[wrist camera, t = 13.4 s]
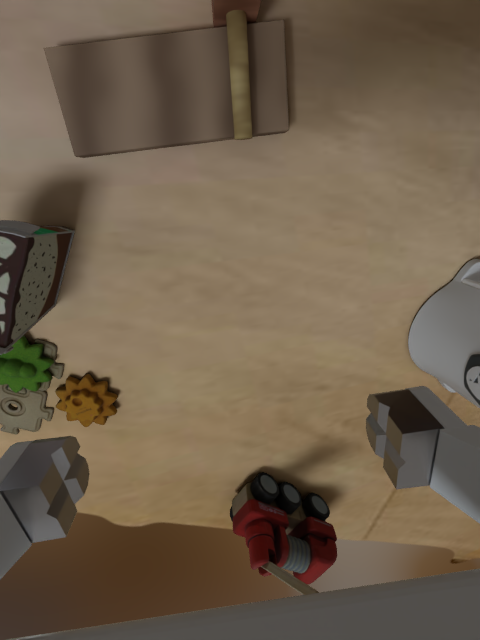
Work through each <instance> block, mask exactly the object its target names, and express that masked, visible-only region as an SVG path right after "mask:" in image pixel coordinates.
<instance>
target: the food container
mask: <svg viewBox="0 0 480 640" xmlns="http://www.w3.org/2000/svg"><path fill="white" fill-rule="evenodd" d="M74 232H75V230H73V229H70V228H67V227H63V226H36V225H33V224H30V223H25V222H20V221H9V220H1V221H0V355H2V354H3V353H4V354H6V353H8V352H9V351H11V350H13V349H14V347H11V346H12V345H13V344H15V343H16V342H17V341H18V340H19V339H20V338H21V337H22V336H23V335H24V334H25V333H26V332H28V331H29V330H30V329H31V328H32V327H33V326H34V325H35V324H36V323H37V322H38V321H39V320H41V319H42V318H43V317H44V316H45V315H46V314H47V313H48V312H49V311H50V310H51V309H52V308H54V307H55V306H56V302H57V298H58V294H59V290H60V286H61V283H62V279H63V275H64V271H65V267H66V263H67V259H68V255H69V252H70V248H71V244H72V240H73V236H74Z"/></svg>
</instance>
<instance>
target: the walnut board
mask: <svg viewBox="0 0 480 640" xmlns="http://www.w3.org/2000/svg"><path fill="white" fill-rule="evenodd" d="M247 41H248V61H249V81H250V101H251V121H252V137H255V136H263V135H271V134H279V133H285V132H287V131H288V130H289V121H288V100H287V78H286V56H285V34H284V20H277V21H268V22H260V23H251V24H247ZM44 51H45V55H46V58H47V61H48V65H49V68H50V72H51V75H52V79H53V82H54V86H55V89H56V93H57V96H58V99H59V103H60V106H61V110H62V113H63V117H64V120H65V124H66V127H67V131H68V134H69V137H70V141H71V144H72V148H73V151H74V155H75V156H76V157H82V158H85V157H93V156H102V155H110V154H118V153H126V152H134V151H142V150H150V149H158V148H166V147H174V146H182V145H190V144H198V143H207V142H215V141H223V140H231V139H235V138H234V123H233V109H232V94H231V80H230V65H229V51H228V37H227V26H226V27H218V28H209V29H201V30H192V31H184V32H175V33H167V34H158V35H150V36H141V37H133V38H124V39H116V40H107V41H99V42H90V43H82V44H74V45H65V46H57V47H48V48H44Z"/></svg>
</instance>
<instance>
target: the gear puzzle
mask: <svg viewBox="0 0 480 640" xmlns="http://www.w3.org/2000/svg"><path fill="white" fill-rule="evenodd" d="M11 347H14V349H13V350H11V351H9V352H8V353H6V354H4V353H3V354H2V355H0V424H2V425H3V427H2V428H1V431H4V432H8V433H12V434H18V433H19V430H18V428H20V429H24V430H28V431H32V432H36V431H38V430H39V429H40V427H41V422H42V418H43V419H45V420H47V421H51V419H52V416H53V412H54V408H52V407H46V406H45V404H46V399H47V392H46V391H45V390H47V389H48V388H49V386H50V382H51V379H52V376H54V377H56V378H57V379H61V377H62V375H63V370H64V364H61V363H59V364H57V363H55V359H56V354H57V347H56V345H55V344H53V343H50V342H47V341H43V340H39V339H36V340H35V344H33V345H30V344H29V343H28V341H27V339H26V338H25V336H24V335H23V336H22V337H21V338H20V339H19V340H18V341H17V342H16V343H15V344H13V345H12V346H11ZM107 389H108V382H107V381H100V382H95V381H94V380H93V378H92V377H91V376H90V375H89V374H86V375H85V376H84V377H83V378H82V379H81V380H78V379H76V378H74V377H70V376H69V377H68V378H67V379H66V387H64V386H63V387H58V388H57V389H56V391H55V392H56V394H57V396H58V397H59V398H60V399H61V400H60V401H59V402H58V403H57V405H56V408H58V409H59V410H62V411H66V412H67V415H66V416H67V420H68V421H75V420H79V421H80V423H81V424H82V425H83V426H84V427H88V426H89V425H90V424H91V423H92V422H95V423H97V424H100V425H104V424H105V423H106V421H107V416H112V415H115V414H116V413H117V409H116V408H115V406H113V405H112V404H113V403H114V402H115V401H116V399H117V398H118V395H116V394H114V393H111V392H108V391H107ZM10 403H14V404H16V405H17V406H18V408H13V407H12V406H11V404H10Z"/></svg>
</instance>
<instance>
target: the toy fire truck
mask: <svg viewBox="0 0 480 640" xmlns="http://www.w3.org/2000/svg"><path fill="white" fill-rule="evenodd" d="M329 514H330V511H329V508H328V506H327V504H326V502H325V501H324V500H323V499H322V498H321V497H320V496H319V495H317V494H314V493H311V494H310V495H309V496H308V497H307V498H306V499H305V500H304V501H303V502H302V499H301V495H300V493H299V492H298V490H297V489H296V488H295V487H294V486H293V485H292V484H290V483H288V482H283V483H281V485H280V486H279V487H278V485H277V483H276V481H275V480H274V479H273V477H271V476H270V475H269V474H267V473H260V474H258V476H257V477H256V478H255V479H254V480H253V482H252V483H247V484H246V485H245V486H244V487H243V489H242V490H241V491H240V492H239V493H238V494H237V496H236V497H235V498H234V499H233V501H232V507H231V509H230V517H231V520H232V521H233V532H234V533H235V534H237V535H239V536H242V537H246V545H247V547H248V548H249V554H250V564H251V568H252V569H253V570H255V569H257V568H258V569H259V573H260V574H261V575H262V576H268V575H271V574H273V575H274V576H276V577H277V578H279V579H280V580H282V581H283V582H285V583H286V584H288V585H289V586H291V587H292V588H294V589H295V590H297V591H298V592H300V593H301V594H303V595H307V594H314V593H319V592H318V591H316V590H315V589H313V588H312V587H310V586H309V585H307V584H311V583H312V582H314V581H315V580H316V579H317V578H318V577H320V576H321V575H322V574H323V573H324V572H325V571H326V570H327V569H328V568H330V567H331V566H332V565H333V563H334V562H335V561H336V558H337V548H336V544H335V541H336V540H337V537H336V534H335V531H334V528H333V526H332V524H329V523H327V522H326V521H325V520H326V519H327V518H328V517H329ZM281 568H284V569H288V570H290V571H293V574H294V576H293V575H291V574H289V573H288V572H286V571H285V570H283V569H281Z"/></svg>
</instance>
